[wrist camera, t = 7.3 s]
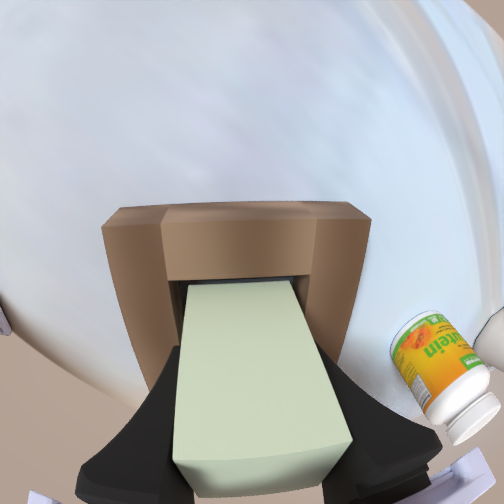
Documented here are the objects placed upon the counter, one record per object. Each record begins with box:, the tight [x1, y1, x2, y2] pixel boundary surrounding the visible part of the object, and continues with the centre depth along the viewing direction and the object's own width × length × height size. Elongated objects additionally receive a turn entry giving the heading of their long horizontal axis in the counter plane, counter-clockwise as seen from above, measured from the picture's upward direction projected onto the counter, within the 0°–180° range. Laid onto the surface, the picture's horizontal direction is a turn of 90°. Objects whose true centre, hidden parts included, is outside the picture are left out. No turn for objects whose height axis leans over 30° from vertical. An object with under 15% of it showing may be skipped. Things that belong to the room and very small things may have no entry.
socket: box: [101, 201, 371, 391], centre depth 14 cm, size 11×11×2 cm
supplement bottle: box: [390, 311, 501, 445], centre depth 15 cm, size 5×5×10 cm
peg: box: [173, 281, 352, 498], centre depth 10 cm, size 4×4×8 cm
